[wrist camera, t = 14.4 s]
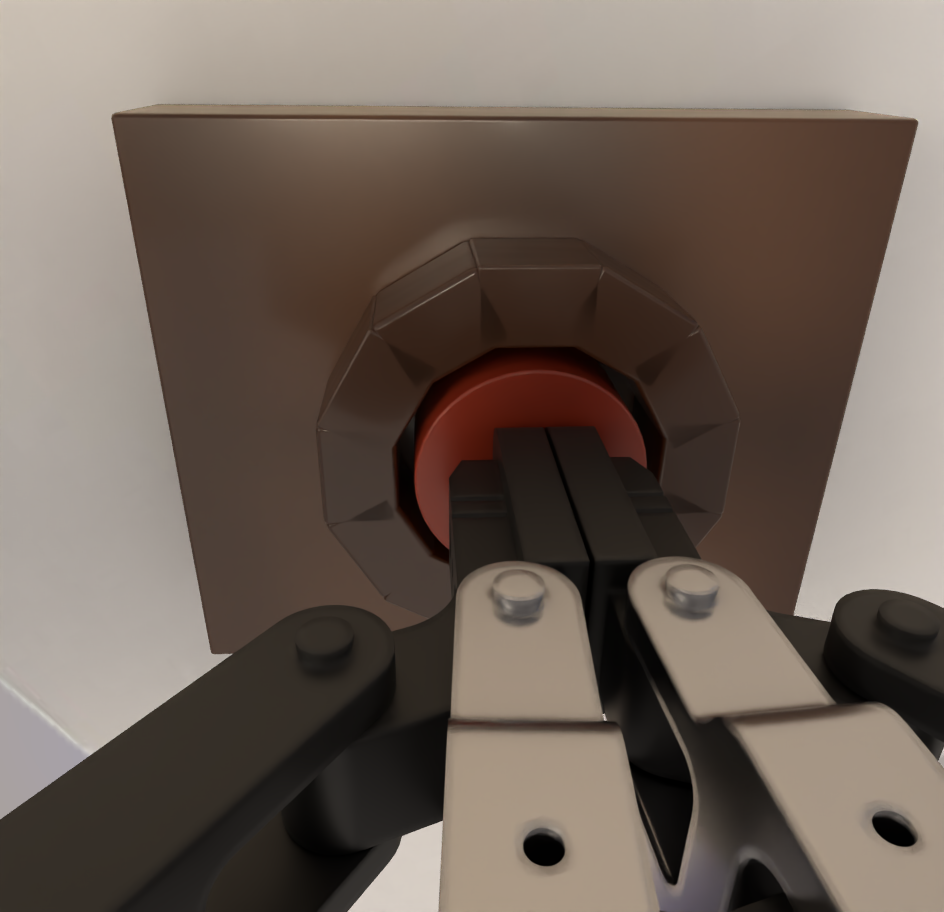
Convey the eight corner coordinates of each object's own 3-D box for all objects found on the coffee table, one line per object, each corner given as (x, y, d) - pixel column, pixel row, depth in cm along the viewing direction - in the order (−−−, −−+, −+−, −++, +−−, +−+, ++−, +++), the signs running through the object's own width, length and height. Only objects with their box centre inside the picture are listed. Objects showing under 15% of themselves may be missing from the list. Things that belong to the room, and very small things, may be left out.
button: (416, 522, 14) (416, 579, 13) (411, 332, 13) (411, 371, 11) (610, 516, 14) (635, 572, 13) (631, 329, 13) (661, 368, 11)
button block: (232, 588, 18) (187, 724, 14) (154, 104, 13) (56, 122, 9) (749, 572, 18) (831, 696, 15) (849, 109, 14) (1001, 129, 10)
